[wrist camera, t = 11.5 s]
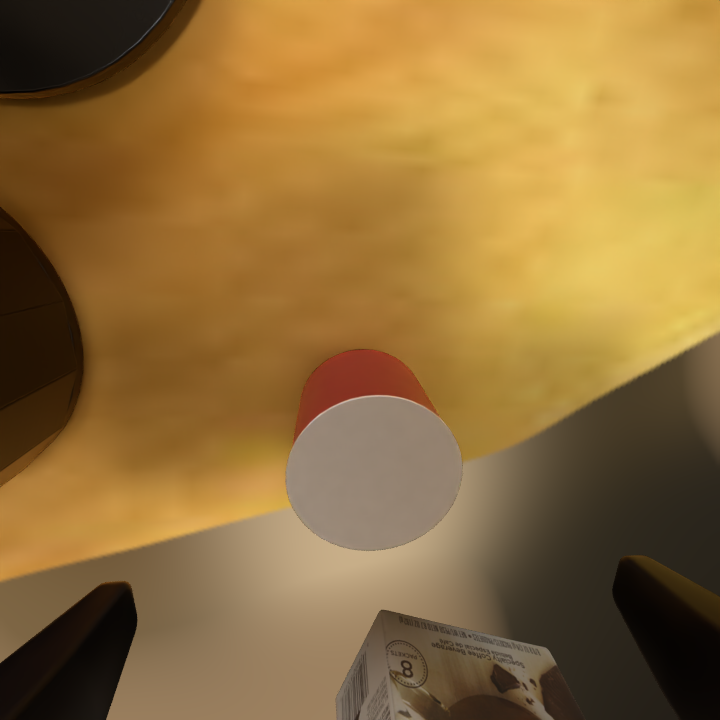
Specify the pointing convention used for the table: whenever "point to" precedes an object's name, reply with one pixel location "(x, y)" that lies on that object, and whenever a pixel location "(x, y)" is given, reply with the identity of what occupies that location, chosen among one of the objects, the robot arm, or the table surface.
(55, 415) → the tin
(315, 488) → the coffee pod
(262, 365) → the table surface
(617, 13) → the table surface
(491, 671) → the coffee box
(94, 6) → the tin lid
